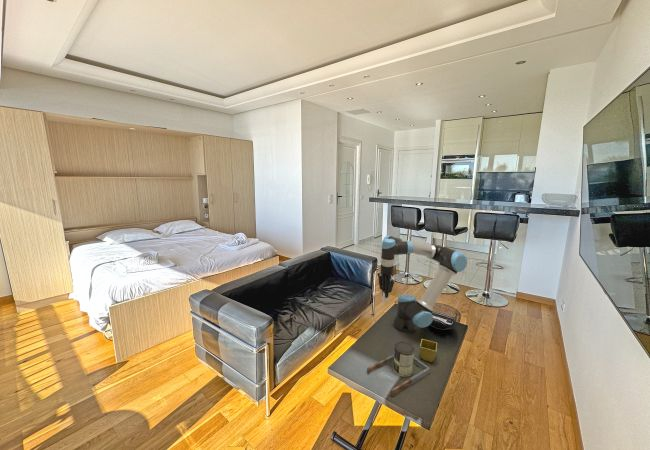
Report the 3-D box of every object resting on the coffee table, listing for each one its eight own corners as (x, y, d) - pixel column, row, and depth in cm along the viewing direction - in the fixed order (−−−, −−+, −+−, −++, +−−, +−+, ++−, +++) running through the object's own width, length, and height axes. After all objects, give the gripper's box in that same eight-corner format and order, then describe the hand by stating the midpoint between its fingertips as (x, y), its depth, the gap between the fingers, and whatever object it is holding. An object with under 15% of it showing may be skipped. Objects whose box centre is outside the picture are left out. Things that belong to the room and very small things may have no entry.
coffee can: (389, 370, 142) (391, 347, 139) (398, 360, 149) (399, 338, 147) (407, 380, 135) (409, 356, 132) (415, 369, 143) (417, 346, 140)
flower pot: (420, 351, 157) (421, 338, 155) (435, 356, 153) (437, 342, 152) (418, 360, 149) (419, 346, 148) (434, 365, 146) (436, 351, 144)
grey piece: (403, 353, 155) (403, 349, 154) (429, 373, 140) (430, 368, 140) (385, 363, 147) (385, 358, 146) (411, 384, 132) (411, 379, 132)
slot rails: (385, 363, 147) (385, 358, 146) (411, 384, 132) (411, 379, 132) (366, 372, 140) (367, 368, 139) (391, 396, 125) (392, 391, 124)
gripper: (374, 262, 156) (372, 298, 161) (390, 269, 145) (388, 307, 150) (383, 260, 160) (381, 295, 165) (400, 267, 149) (397, 304, 154)
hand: (384, 301), depth 157 cm, fingers closed
